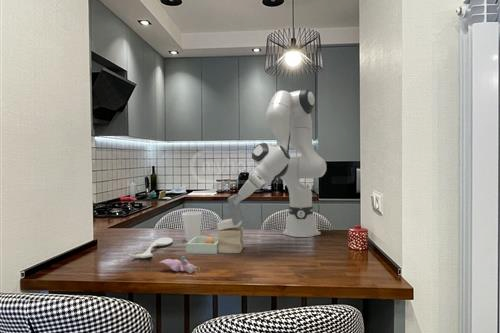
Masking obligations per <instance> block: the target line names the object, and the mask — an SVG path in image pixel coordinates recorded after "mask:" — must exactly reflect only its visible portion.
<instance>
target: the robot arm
mask: <svg viewBox="0 0 500 333" xmlns="http://www.w3.org/2000/svg"><path fill="white" fill-rule="evenodd" d="M314 94H315V93H314V92H313V91H312V90H311V89H308V88H302V89H300V90H294V91H290V92H289V91H287V90H284V89H283V90H278V91H276V92H275V93H274V95H273V96H272V98H271V100H270V101H269V104H268V107H267V110H266V113H265V121H266V124H267V126H268V127H269V128H270V130H271V131H272V133H273V135H274V138H275V140H276V145H275V146H273V145H271V144H268V143H266V142H261V143H259V144H257V145H256V146H254V148H253V150H252V152H251V158H252V159H253V161H254V162H255V164H257V165H256V166H255V167H254V169H252V170H251V172H249V174H248V179H247V180H246V181H245V183H243V185H242V186H241V188H240V189H239V191H238V192H237V195H238V196H237V198H236V199H235V200H234V201H233V203H234V204H235V205H237V204H238V203H239V204H240V202H241V203H242V201H243V200H245V199H247V198H249V197H250V196H251V195H253V193H254V192H255V191H257V190H261V189H263V190H265V188H267V187H268V186H269V185H270V183H272V182H273V180H274V179H280V180H282V181H283V182H284V184H285V185H286V187H287V190H288V195H289V206H288V216H287V217H286V218H285V223H286V224H285V227H286V228H285V230H283V231H282V235H284V236H290V237H294V238H296V237H297V238H311V237H314V236H319V235H320V236H321V235H322V234H321V231H319V230H318V228H317V226H318V225H317V217H315V215H314V206H313V192H312V190H311V189H310V187H308V186H306V185H304V184H302V183H301V181H300V179H317V178H322V177H323V176H324V175H325V174H326V172H327V169H328V168H327V162H326V161H325V159H324V158H322V157H321V155H319V154H318V153H317V152H316V150H315V149H314V148H315V147H314V145H313V122H312V115H311V113H312V111H313V109H314V107H315V104H316V97H315V95H314ZM291 116H292V117H291ZM290 118H291V124H290ZM290 147H291V148H292V149H294V150H295V151H297V152H299V153H301V155H300V156H291V155H290V154H289V152H290Z"/></svg>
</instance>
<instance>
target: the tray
mask: <svg viewBox="0 0 500 333" xmlns="http://www.w3.org/2000/svg"><path fill="white" fill-rule="evenodd" d="M208 237H209V236H200V237H194V238H193V239H192V240H190V241H187V242H186V243H185V254H187V255H188V254H197V255H199V254H200V255H201V254H204V255H217V254H218V236H211V237H212V238H213V239H214V244H205V240H206V238H208Z"/></svg>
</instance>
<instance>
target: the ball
mask: <svg viewBox="0 0 500 333" xmlns="http://www.w3.org/2000/svg"><path fill="white" fill-rule="evenodd" d="M207 237H208V238H206V240H205V244H214V239H213V238H212V237H213V236H207Z"/></svg>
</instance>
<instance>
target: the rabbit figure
mask: <svg viewBox="0 0 500 333" xmlns="http://www.w3.org/2000/svg"><path fill="white" fill-rule="evenodd" d="M158 263H159V264H165V266H167V267H169V268H170V269H171V271H174V272H177V273H178V272H180V271H181V272H186V273H188V274H189V275H191V274H193V273H194V274H195V275H197V273H198V272H200V271H201V266H198V265H196V266H195V265H194V264H192V263H190V262H189V261H188V259H186V256H184V255H182V256H181V258H180V260H179V259H177V258H176V259H171V258H167V259H163V260H161V261H159V262H158ZM183 263H184V264H185V265H183ZM197 269H198V272H197Z"/></svg>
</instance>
